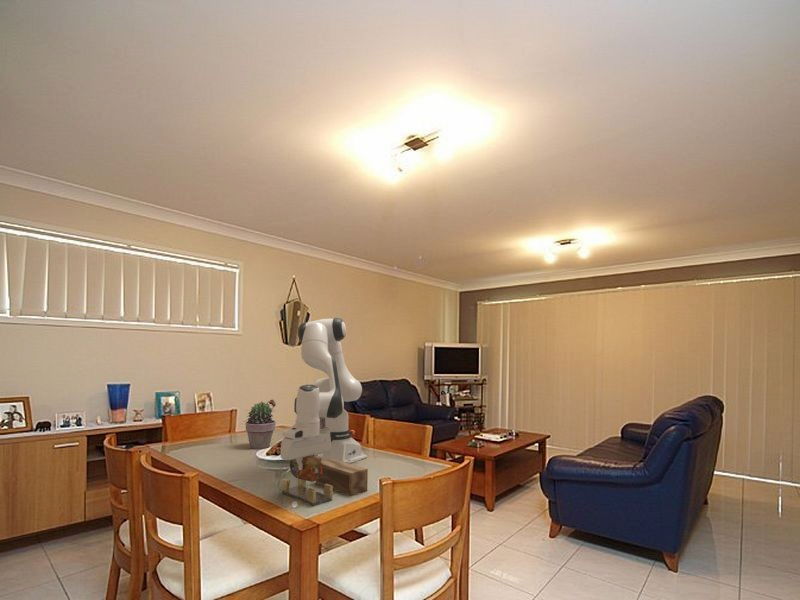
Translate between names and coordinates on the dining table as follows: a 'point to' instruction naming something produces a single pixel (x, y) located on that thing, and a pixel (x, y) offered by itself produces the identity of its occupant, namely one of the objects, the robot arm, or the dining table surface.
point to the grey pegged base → (307, 492)
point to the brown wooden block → (344, 477)
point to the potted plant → (260, 425)
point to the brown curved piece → (307, 469)
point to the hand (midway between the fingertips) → (306, 468)
